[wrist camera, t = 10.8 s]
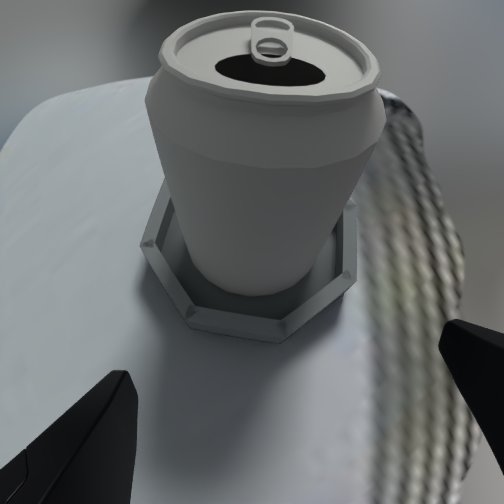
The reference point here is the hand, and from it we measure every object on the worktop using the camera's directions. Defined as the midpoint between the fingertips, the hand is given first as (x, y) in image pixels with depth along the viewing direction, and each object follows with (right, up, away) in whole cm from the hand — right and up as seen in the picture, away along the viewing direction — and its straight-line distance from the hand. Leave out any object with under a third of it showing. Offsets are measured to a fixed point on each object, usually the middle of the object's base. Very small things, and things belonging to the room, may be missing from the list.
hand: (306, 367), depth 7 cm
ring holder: (-1, +4, +11) cm, 12 cm away
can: (-1, +4, +10) cm, 11 cm away
